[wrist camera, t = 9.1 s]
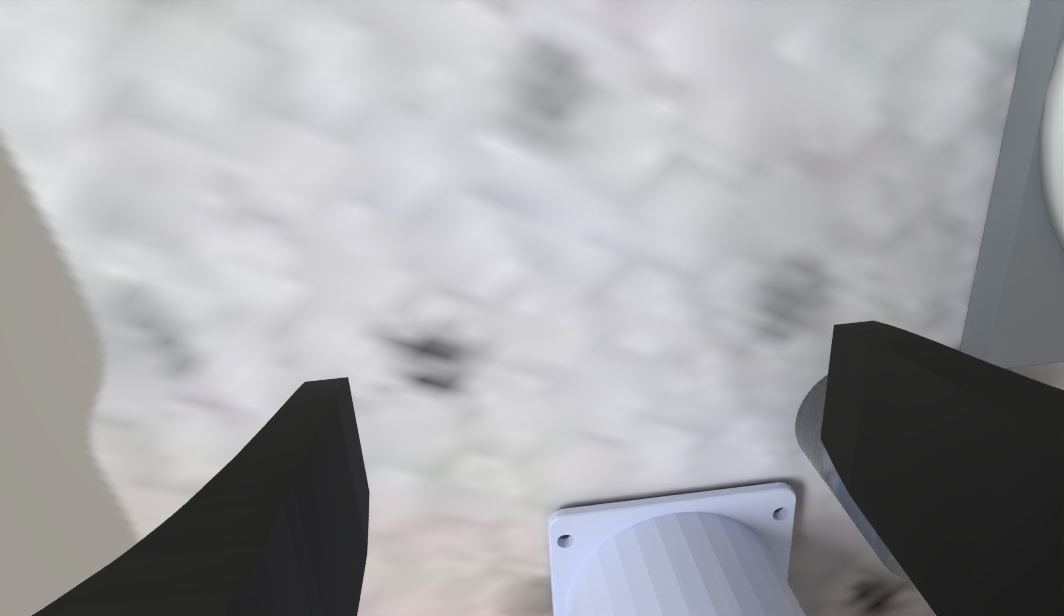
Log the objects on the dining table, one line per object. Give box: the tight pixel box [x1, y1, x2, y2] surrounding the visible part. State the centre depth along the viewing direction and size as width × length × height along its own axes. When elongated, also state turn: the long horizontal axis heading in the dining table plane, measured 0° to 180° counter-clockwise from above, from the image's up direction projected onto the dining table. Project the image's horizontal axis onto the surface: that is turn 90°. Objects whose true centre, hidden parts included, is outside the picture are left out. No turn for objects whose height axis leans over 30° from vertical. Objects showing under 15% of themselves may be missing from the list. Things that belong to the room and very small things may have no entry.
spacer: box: [795, 375, 910, 579], centre depth 23 cm, size 4×4×5 cm
